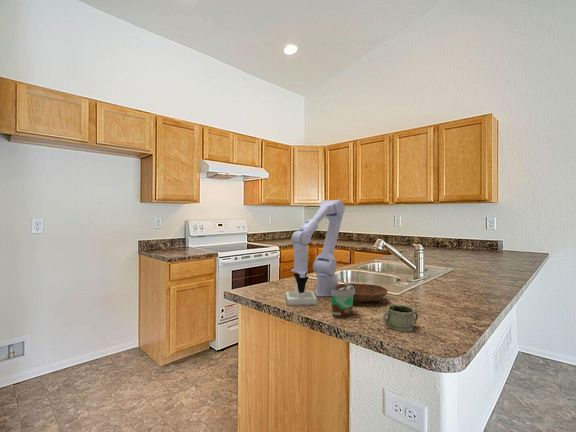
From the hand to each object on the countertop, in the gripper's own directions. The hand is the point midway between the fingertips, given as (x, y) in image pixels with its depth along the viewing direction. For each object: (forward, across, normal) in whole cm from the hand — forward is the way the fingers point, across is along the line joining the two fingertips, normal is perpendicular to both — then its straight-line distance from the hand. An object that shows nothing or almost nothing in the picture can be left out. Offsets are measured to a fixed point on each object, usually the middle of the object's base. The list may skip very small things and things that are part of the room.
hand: (300, 291), depth 129 cm
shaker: (+2, 0, 0) cm, 2 cm away
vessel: (+4, +31, +30) cm, 43 cm away
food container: (+4, +18, +15) cm, 24 cm away
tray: (+4, 0, 0) cm, 4 cm away
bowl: (+4, 0, +26) cm, 26 cm away
